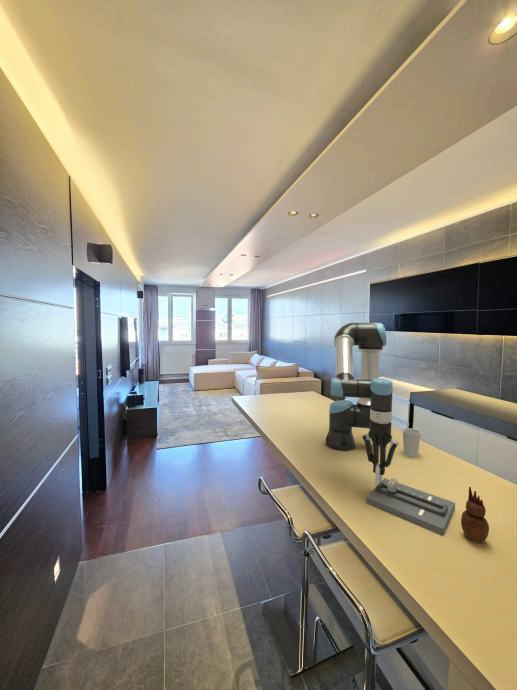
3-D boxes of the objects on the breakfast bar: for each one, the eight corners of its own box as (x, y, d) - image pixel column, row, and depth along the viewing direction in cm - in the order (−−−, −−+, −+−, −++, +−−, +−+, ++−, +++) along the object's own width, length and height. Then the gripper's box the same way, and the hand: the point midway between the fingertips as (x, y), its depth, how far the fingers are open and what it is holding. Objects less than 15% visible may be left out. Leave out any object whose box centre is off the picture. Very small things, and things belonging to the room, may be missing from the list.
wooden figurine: (456, 530, 92) (458, 484, 90) (473, 529, 92) (476, 483, 91) (473, 547, 85) (476, 497, 84) (492, 545, 85) (495, 496, 84)
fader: (385, 493, 108) (386, 481, 107) (390, 488, 111) (390, 477, 111) (394, 497, 106) (394, 484, 105) (398, 492, 109) (398, 479, 108)
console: (365, 502, 106) (366, 493, 106) (384, 482, 119) (384, 474, 119) (443, 535, 90) (443, 524, 89) (454, 508, 103) (455, 498, 102)
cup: (422, 459, 140) (423, 434, 139) (404, 457, 141) (405, 433, 141) (416, 452, 148) (417, 428, 147) (399, 450, 149) (400, 427, 148)
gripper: (359, 419, 111) (357, 479, 113) (395, 427, 103) (392, 492, 104) (367, 414, 117) (365, 472, 119) (402, 422, 108) (400, 484, 110)
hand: (378, 481), depth 111 cm, fingers closed
